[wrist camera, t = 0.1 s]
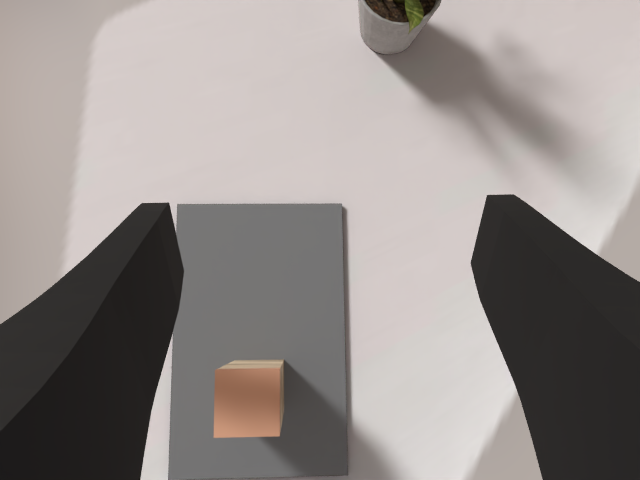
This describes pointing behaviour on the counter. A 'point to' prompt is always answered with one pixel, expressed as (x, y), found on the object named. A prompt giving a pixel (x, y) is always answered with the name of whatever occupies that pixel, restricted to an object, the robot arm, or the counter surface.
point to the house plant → (393, 22)
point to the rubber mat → (260, 336)
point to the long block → (249, 399)
